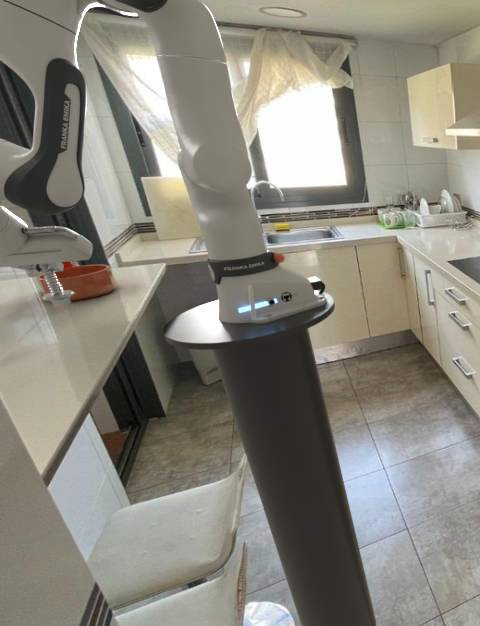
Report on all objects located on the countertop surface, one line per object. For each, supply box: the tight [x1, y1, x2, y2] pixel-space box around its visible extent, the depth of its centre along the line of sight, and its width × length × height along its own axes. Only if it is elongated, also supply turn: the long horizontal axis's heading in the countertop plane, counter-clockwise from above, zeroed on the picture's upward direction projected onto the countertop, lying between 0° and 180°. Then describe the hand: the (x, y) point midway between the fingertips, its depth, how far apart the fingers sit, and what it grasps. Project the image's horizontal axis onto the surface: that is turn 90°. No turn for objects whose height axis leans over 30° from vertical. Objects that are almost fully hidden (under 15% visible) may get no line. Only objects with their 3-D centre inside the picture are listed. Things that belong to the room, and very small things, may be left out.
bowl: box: [36, 263, 118, 302], centre depth 117 cm, size 13×13×6 cm
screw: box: [38, 263, 75, 307], centre depth 93 cm, size 13×5×5 cm
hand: (48, 269), depth 93 cm, fingers closed on screw, 2 cm apart
